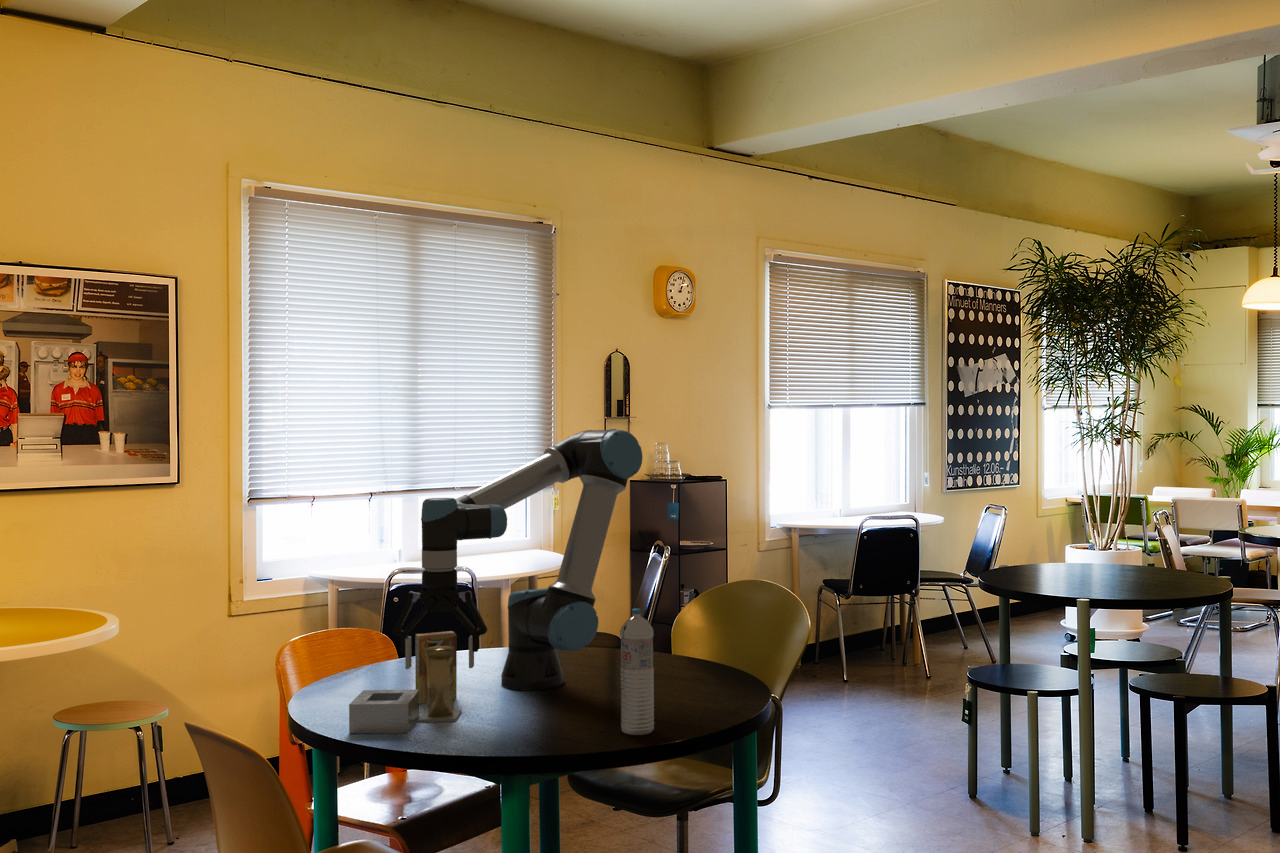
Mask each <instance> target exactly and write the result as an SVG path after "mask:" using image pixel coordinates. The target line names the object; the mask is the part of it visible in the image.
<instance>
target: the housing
mask: <svg viewBox="0 0 1280 853" xmlns="http://www.w3.org/2000/svg"><path fill="white" fill-rule="evenodd" d="M348 717H349V721H348V722H349V723H348V724H349V725H348V726H349V727H348V734H349V733H383V734H409V733H410V731H411V730H412V728H414V726H415V724H416V723H417V722H418V718H420V703H419V690H416V689H372V690H371V689H365V690H362V691H361V692H360V693H359V694H357V696H355V698H354V699H353V700H352V701H351V702H350V703H349V704H348ZM415 722H416V723H415ZM413 725H414V726H413ZM405 732H406V733H405ZM408 732H409V733H408Z"/></svg>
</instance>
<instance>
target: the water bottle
mask: <svg viewBox="0 0 1280 853" xmlns="http://www.w3.org/2000/svg"><path fill="white" fill-rule="evenodd" d="M631 612H632V613H631V614H632V616H631V617H630V618H628V619H627V620H625V622H624V623H623V624H622V625H621V628H620V632H619V633H620V634H619V636H620V665H621V666H620V728H621V729H620V730H621V732H623V733H624V734H626V735H630V736H644V735H649V734H651V733H652V732H653V731H654V730H655V708H654V707H655V704H654V703H655V690H654V689H655V686H654V685H655V681H654V680H655V677H654V675H655V674H654V673H655V672H654V671H655V670H654V669H655V668H654V642H653V641H654V629H653V626H652V625H651V624H650V622H649V621H648V620H647V619H646V618H644V617H643V616H641V615H642V609H641V608H632V610H631Z"/></svg>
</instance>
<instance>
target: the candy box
mask: <svg viewBox="0 0 1280 853" xmlns="http://www.w3.org/2000/svg"><path fill="white" fill-rule="evenodd" d="M414 641H415V642H414V644H415V647H414V648H415V649H414V651H415V654H414V656H415V660H414V661H415V665H414V667H415V671H414V672H415V676H414V677H415V690H419V704H425V703H426V704H428V679H427V656H426V648H429V647H433V646H452V647H454V654H453V700H457V698H458V697H457V690H458V689H457V687H458V686H457V680H458V679H457V678H458V676H457V675H458V674H457V666H458V665H457V663H458V662H457V649H458V648H457V646H458V644H457V641H458V640H457V633H455V631H452V630H449V631H448V630H447V631H437V632H436V631H435V632H426V633H415V640H414Z"/></svg>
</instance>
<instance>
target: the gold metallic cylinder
mask: <svg viewBox="0 0 1280 853" xmlns="http://www.w3.org/2000/svg"><path fill="white" fill-rule="evenodd" d="M453 654H454V647H452V646H433V647H429V648H426V656H427V679H428V703H427V710H428V716H429V717H435V718H440V717H448V716H451V715H453V709H454V699H453Z"/></svg>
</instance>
